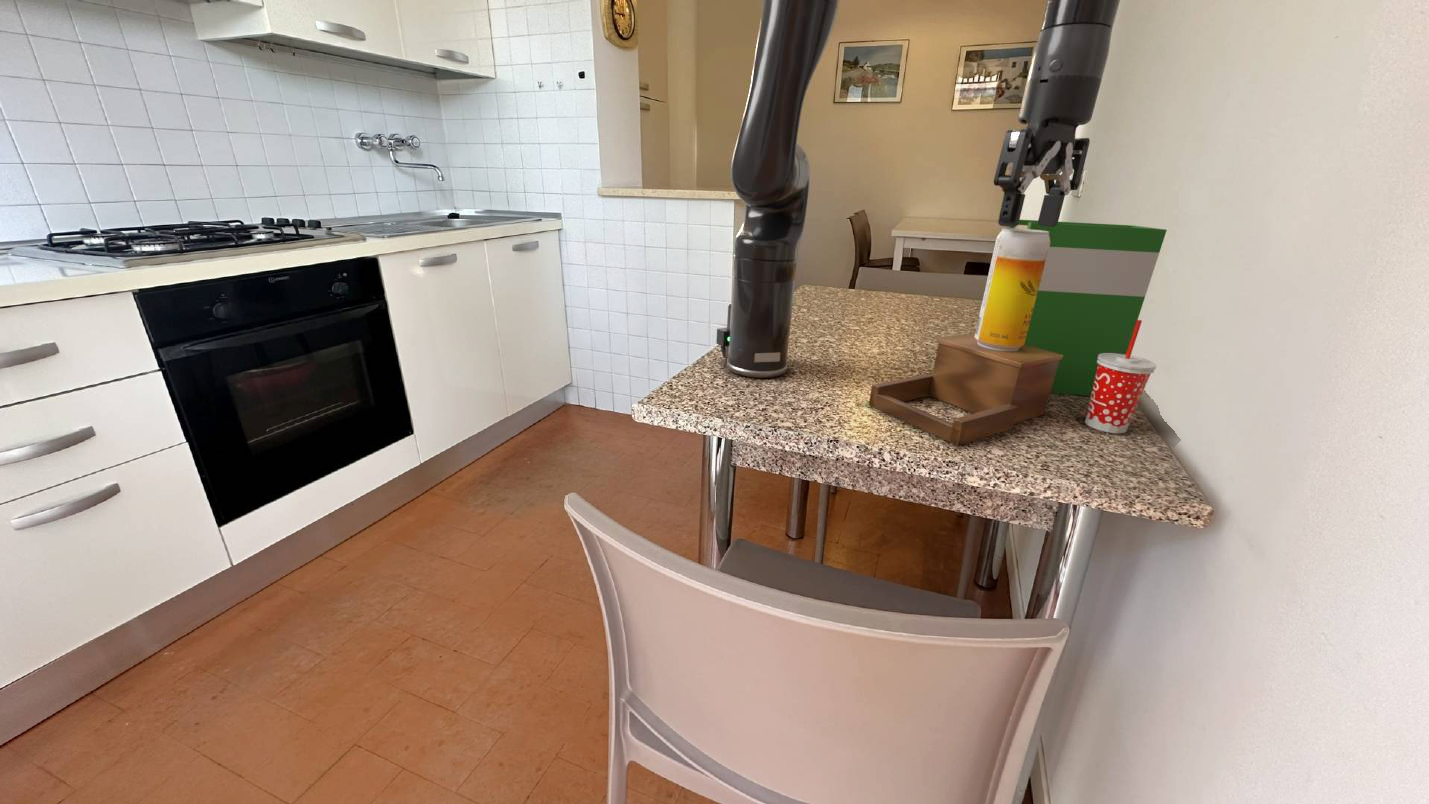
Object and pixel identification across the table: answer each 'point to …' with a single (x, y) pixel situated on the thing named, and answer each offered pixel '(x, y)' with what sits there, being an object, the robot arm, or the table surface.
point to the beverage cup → (1118, 388)
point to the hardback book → (1090, 295)
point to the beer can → (1012, 288)
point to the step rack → (973, 389)
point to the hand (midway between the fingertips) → (1027, 226)
